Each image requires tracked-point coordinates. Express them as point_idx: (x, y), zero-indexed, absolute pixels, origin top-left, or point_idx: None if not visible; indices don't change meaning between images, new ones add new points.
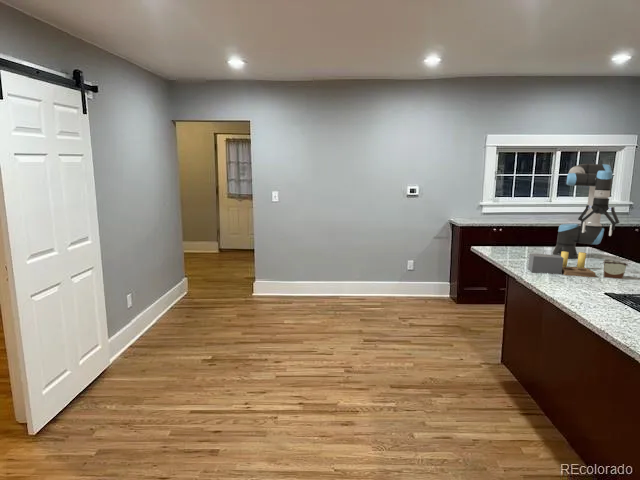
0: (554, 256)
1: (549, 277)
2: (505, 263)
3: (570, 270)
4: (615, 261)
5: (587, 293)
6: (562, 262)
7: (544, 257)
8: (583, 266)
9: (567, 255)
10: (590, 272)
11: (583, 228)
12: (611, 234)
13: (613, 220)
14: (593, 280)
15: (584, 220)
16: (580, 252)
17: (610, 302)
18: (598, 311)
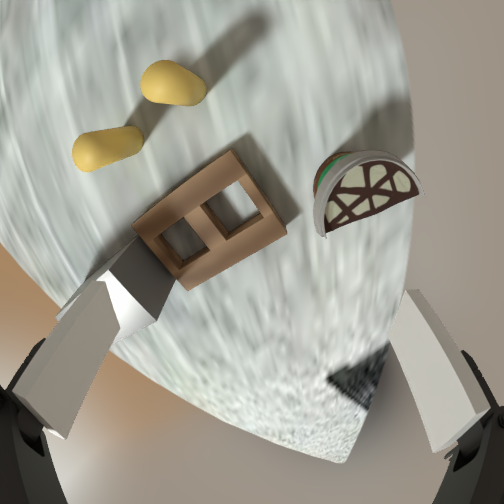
0: (120, 316)
1: (174, 336)
2: (24, 256)
3: (194, 265)
4: (373, 163)
5: (295, 397)
6: (161, 307)
7: (112, 343)
8: (201, 96)
9: (111, 155)
10: (267, 239)
11: (97, 365)
12: (423, 297)
13: (502, 468)
14: (289, 281)
15: (16, 416)
16: (148, 76)
17: (336, 410)
18: (318, 438)
